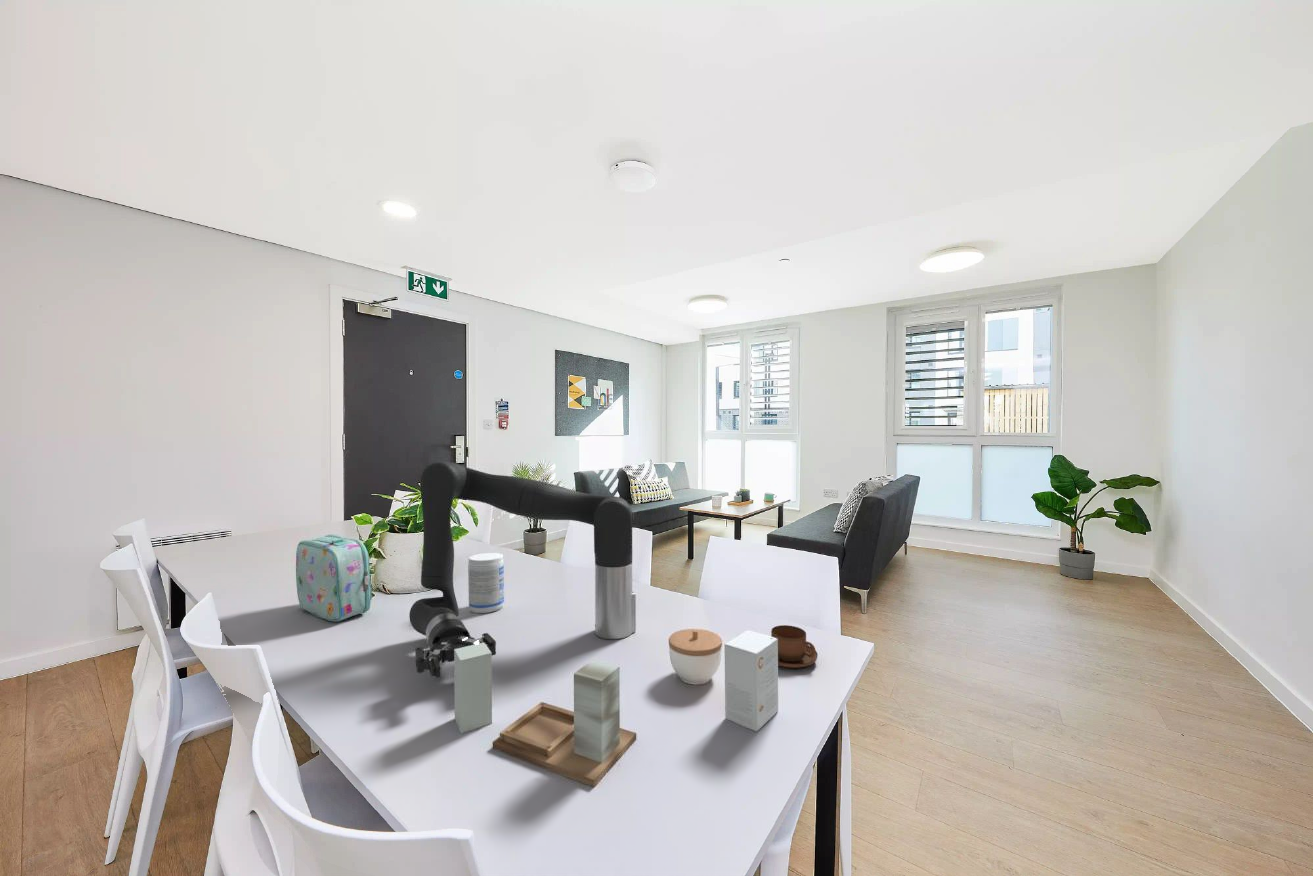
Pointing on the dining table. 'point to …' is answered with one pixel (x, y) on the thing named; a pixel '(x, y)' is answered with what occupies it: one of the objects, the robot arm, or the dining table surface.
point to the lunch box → (333, 577)
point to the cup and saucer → (793, 647)
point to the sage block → (473, 686)
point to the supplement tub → (486, 582)
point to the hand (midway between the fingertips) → (463, 666)
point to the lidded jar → (695, 655)
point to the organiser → (574, 729)
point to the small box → (751, 679)
